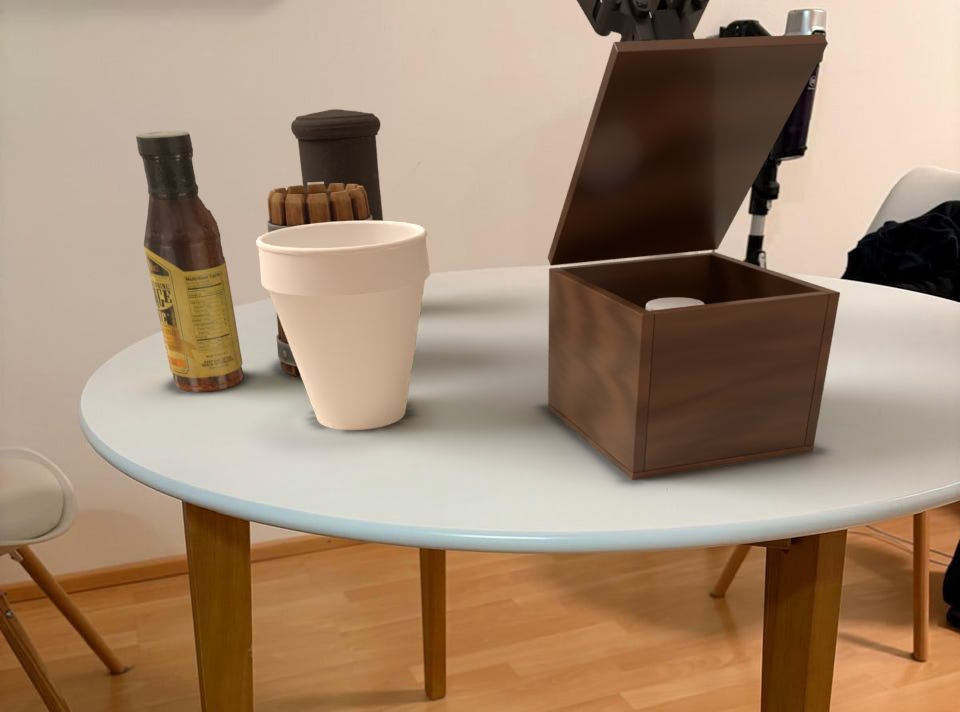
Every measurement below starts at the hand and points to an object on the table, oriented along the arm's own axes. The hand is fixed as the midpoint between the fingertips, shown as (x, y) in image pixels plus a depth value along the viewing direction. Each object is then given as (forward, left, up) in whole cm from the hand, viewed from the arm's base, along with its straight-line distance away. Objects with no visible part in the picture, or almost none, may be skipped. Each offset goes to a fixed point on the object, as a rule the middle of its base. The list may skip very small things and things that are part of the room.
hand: (684, 112), depth 58 cm
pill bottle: (0, +1, -20) cm, 20 cm away
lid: (0, -1, -3) cm, 3 cm away
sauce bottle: (+32, -24, -21) cm, 45 cm away
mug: (+20, -28, -21) cm, 40 cm away
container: (+15, -45, -21) cm, 52 cm away
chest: (0, +2, -21) cm, 21 cm away
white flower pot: (+21, -10, -21) cm, 31 cm away
